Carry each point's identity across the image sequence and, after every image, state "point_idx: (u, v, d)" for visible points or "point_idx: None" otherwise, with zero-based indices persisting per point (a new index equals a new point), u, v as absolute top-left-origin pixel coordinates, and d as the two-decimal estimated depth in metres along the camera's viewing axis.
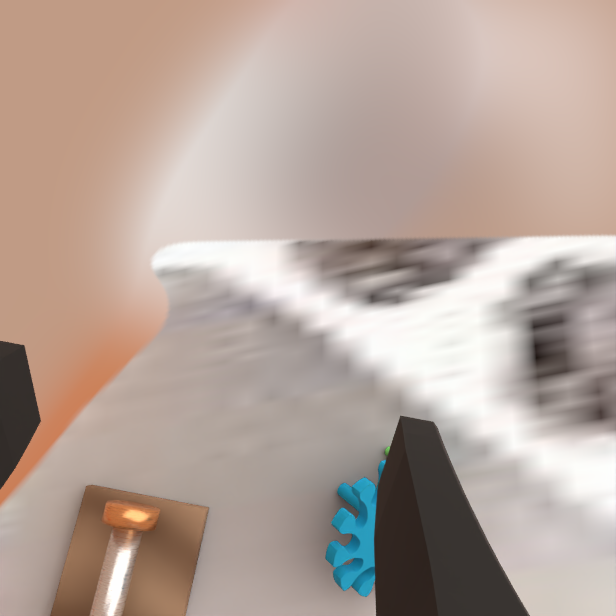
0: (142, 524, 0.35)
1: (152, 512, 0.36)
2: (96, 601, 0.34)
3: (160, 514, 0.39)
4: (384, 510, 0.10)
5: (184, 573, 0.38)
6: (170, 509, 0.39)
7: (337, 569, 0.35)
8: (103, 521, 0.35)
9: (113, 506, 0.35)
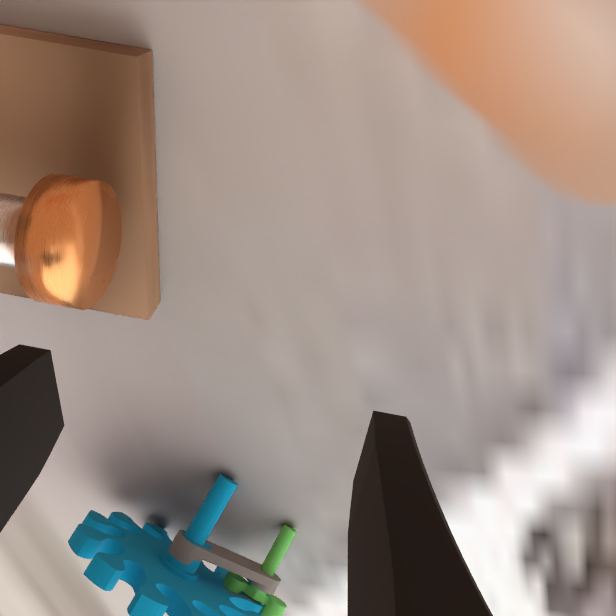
0: (48, 302, 0.15)
1: (84, 307, 0.15)
2: None
3: None
4: (357, 505, 0.10)
5: None
6: (132, 258, 0.18)
7: (92, 542, 0.22)
8: (24, 210, 0.13)
9: (61, 243, 0.13)
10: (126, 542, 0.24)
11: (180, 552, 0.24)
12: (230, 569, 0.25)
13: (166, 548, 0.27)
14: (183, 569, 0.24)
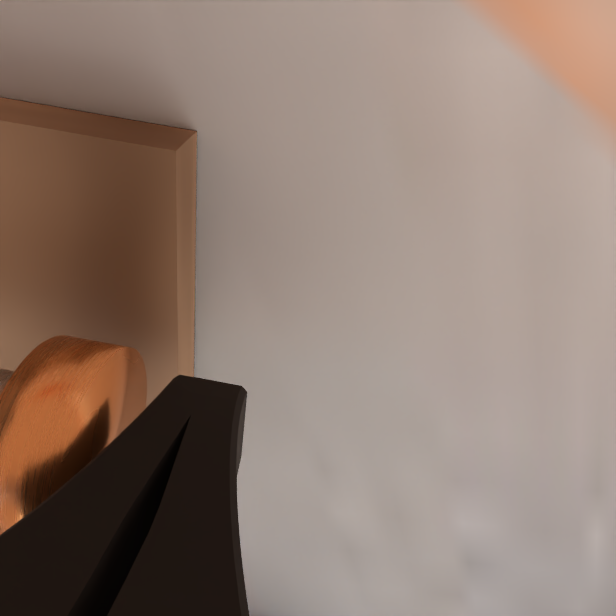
0: None
1: None
2: None
3: None
4: None
5: None
6: None
7: None
8: None
9: (54, 489, 0.08)
10: None
11: None
12: None
13: None
14: None
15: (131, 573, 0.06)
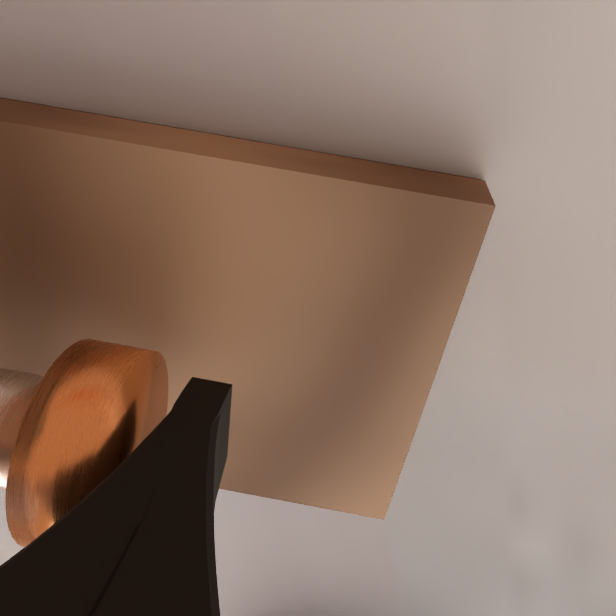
0: None
1: None
2: None
3: (372, 430, 0.12)
4: None
5: None
6: (386, 453, 0.13)
7: None
8: (23, 435, 0.08)
9: (86, 492, 0.08)
10: None
11: None
12: None
13: None
14: None
15: (104, 567, 0.06)
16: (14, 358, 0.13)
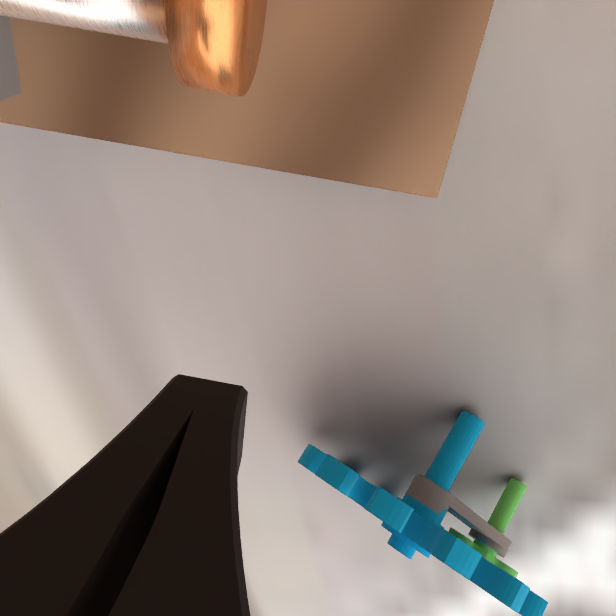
0: (193, 71, 0.11)
1: (235, 90, 0.11)
2: None
3: (434, 79, 0.14)
4: None
5: (291, 155, 0.16)
6: (445, 107, 0.14)
7: (353, 476, 0.18)
8: None
9: None
10: None
11: (430, 498, 0.20)
12: (474, 523, 0.21)
13: None
14: (435, 518, 0.20)
15: (132, 573, 0.06)
16: None
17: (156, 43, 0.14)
